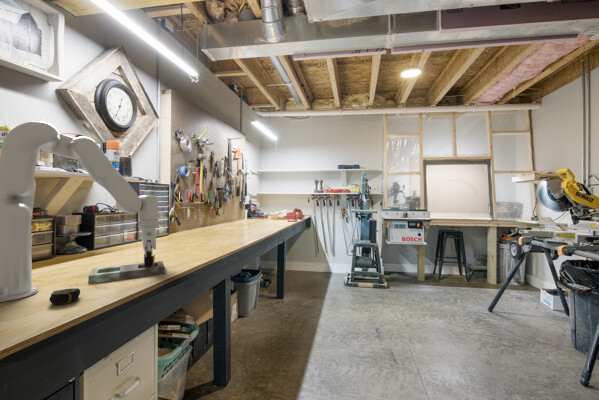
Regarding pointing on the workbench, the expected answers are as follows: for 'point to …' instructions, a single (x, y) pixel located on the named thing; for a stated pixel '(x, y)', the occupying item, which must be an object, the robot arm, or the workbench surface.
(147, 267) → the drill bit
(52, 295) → the tape measure
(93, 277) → the block
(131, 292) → the workbench surface
